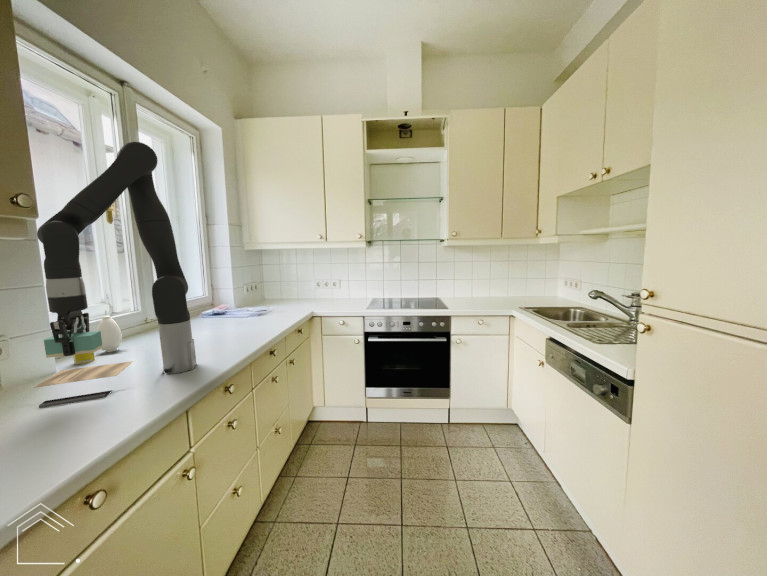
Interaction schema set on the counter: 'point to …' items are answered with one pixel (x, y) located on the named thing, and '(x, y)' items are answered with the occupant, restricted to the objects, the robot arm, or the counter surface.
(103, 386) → the counter surface
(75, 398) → the rubber mat
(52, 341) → the block
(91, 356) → the supplement bottle
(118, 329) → the white vase
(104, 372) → the board
